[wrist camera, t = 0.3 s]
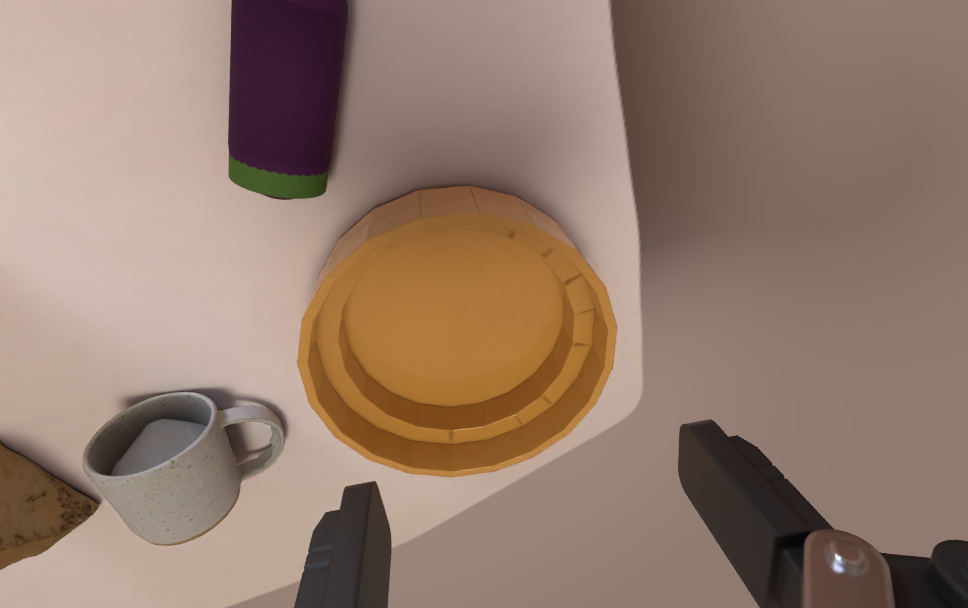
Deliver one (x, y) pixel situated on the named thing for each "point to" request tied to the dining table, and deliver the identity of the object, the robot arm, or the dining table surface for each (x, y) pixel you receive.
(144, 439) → the ceramic mug
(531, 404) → the bowl
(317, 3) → the aubergine
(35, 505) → the rock
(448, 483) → the dining table surface
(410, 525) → the dining table surface
